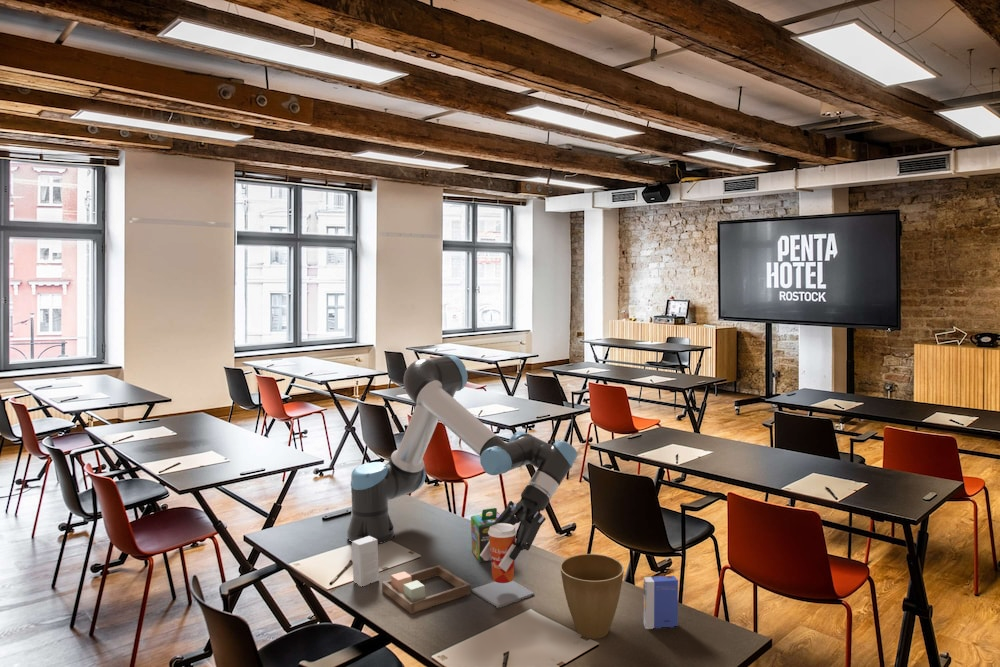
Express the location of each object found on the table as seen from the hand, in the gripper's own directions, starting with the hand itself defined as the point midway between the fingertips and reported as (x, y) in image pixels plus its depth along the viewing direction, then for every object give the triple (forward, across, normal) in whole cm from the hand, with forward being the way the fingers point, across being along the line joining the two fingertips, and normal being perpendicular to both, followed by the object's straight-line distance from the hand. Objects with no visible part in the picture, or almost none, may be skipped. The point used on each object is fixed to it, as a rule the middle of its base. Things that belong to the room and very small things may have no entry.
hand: (492, 563), depth 182 cm
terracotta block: (+19, +17, +6) cm, 26 cm away
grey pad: (+4, 0, -9) cm, 10 cm away
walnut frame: (+15, +13, +3) cm, 21 cm away
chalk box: (-4, +23, -18) cm, 29 cm away
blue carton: (-10, -37, -23) cm, 44 cm away
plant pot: (+1, -29, -13) cm, 31 cm away
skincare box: (+23, +29, +10) cm, 38 cm away
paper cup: (+1, 0, -6) cm, 6 cm away
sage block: (+19, +10, +6) cm, 23 cm away
